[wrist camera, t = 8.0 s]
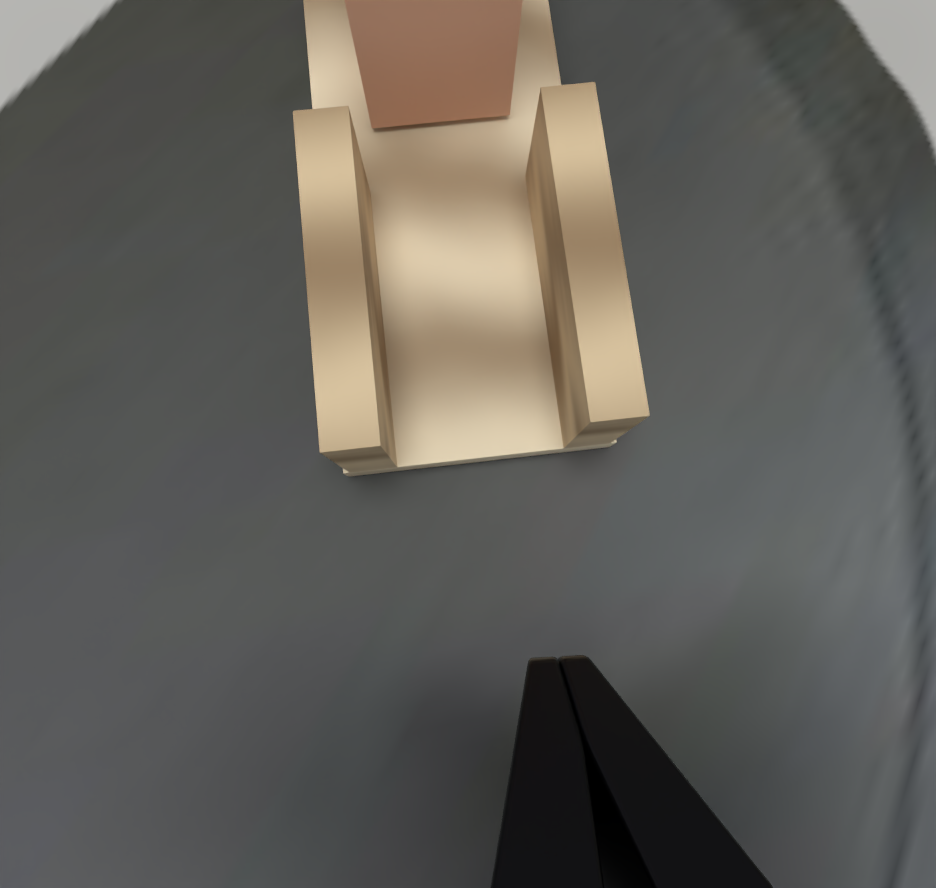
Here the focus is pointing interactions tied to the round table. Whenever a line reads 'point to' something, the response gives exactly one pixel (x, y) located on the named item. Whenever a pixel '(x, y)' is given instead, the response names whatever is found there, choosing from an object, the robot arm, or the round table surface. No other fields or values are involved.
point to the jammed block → (435, 58)
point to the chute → (462, 269)
